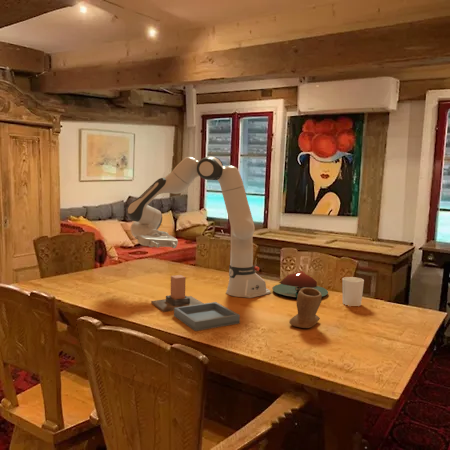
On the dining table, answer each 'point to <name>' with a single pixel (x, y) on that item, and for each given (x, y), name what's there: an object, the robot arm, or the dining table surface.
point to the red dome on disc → (297, 285)
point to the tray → (206, 316)
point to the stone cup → (307, 308)
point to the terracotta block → (178, 287)
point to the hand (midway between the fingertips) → (166, 246)
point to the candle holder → (352, 291)
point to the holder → (175, 303)
